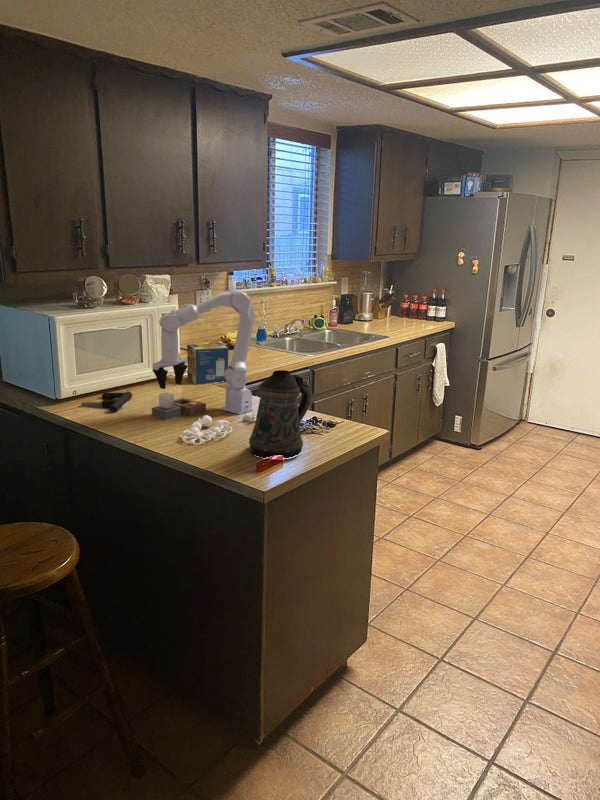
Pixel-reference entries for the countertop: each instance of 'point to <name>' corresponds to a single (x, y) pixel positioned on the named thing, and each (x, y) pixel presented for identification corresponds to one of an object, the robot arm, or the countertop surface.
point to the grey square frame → (166, 412)
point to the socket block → (188, 409)
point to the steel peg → (166, 401)
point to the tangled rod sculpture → (197, 434)
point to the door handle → (111, 401)
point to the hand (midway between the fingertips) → (170, 386)
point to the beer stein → (280, 416)
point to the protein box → (207, 363)
